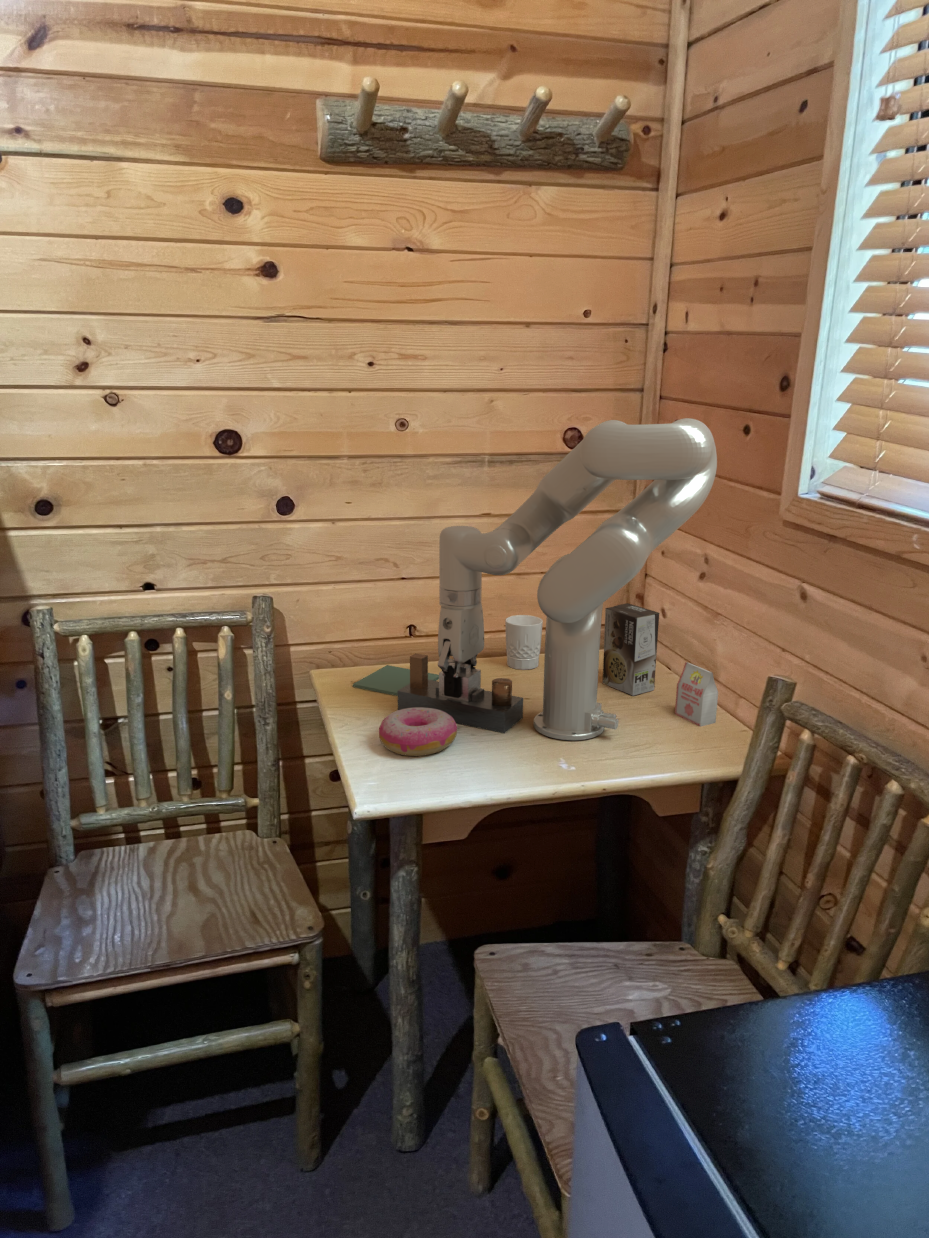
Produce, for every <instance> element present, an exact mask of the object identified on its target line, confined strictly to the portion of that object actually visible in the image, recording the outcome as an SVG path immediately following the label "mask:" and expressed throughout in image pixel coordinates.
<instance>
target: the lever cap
mask: <svg viewBox="0 0 929 1238" xmlns="http://www.w3.org/2000/svg"><path fill="white" fill-rule="evenodd" d="M449 665H450V666H452V667H453V668H454V667H455V663H449ZM470 667H471V665H468V664H462V663H461V664H460V671H459V677H461V697H459V698H454V697H449V696H445V695H444V676H443V672H442V670H441V671H439V672H438V675H439V679H438V681H439V696H443V697H448V698H453V699H458V700H463V701H469V700H471V699H472V694H473V693H475V692H476V691H478V690H479V689H480V688H481V687H482V686H481V680H482V679H481V677H482V675H481V674H482V672H481V671H482V670H481V669H479V668H475V669H474V668H470Z"/></svg>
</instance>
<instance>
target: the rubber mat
mask: <svg viewBox="0 0 929 1238" xmlns="http://www.w3.org/2000/svg"><path fill="white" fill-rule="evenodd" d="M428 680H434V681H439V673H438V674H437V673H433V672H428ZM408 684H410V668H405V667H401V666H400V667H399V666H394V665H389V664H387V665H385V666H383V667H381V668H380V669H378V670H375V671H374V672H372V673H370V674H368V675H366V676H364V677H362V678H361V679H359V680H358V681H356V682H353V683H352V687H353V688H357V689H362V690H367V691H372V692H377V693H381V694H384V695H385V694H386V695H390V696H395V697H398V693H397V691H398V690H400V689H401V688H403V687H405V686H406V685H408Z"/></svg>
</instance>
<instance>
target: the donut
mask: <svg viewBox="0 0 929 1238" xmlns="http://www.w3.org/2000/svg"><path fill="white" fill-rule="evenodd" d="M457 733H458V725H457V723H456V722H455V720H454V719H453V718H452V716H450V715H449V714H447V713H446V712H444V711H441V710H438V709H433V708H423V707H415V708H406V709H401V710H398V709H397V710H396V711H393V712H391V713H390V714H388V715H387V716H385V717H384V718H383V719H382V721H381V723H380V725H379V728H378V734H379V735H378V736H379V737H378V738H379V740H380V742H381V744H382V745H383V747H385V748H386V749H388V750H389V751H390V752H393V753H394V754H398V755H400V756H401V755H402V756H405V757H407V756H408V757H423V756H428V755H433V754H437V753H439V752H442V751H443V750H445V749H446V748H448V747H450V745H452V743H453V742H454V740H455V738H456V737H457Z"/></svg>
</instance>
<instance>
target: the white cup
mask: <svg viewBox="0 0 929 1238" xmlns="http://www.w3.org/2000/svg"><path fill="white" fill-rule="evenodd" d="M543 623H544V620H543V619H542V618H541V617H538V616H535V615H528V614H527V615H526V614H518V615H517V614H516V615H511V616H508V617H506V618H505V647H506V649H505V650H506V665H507V666H508V667H509V668H512V669H513V670H514V669H515V670H520V671H524V670H525V671H526V670H533V669H535V668H538V667H539V662H540V660H539V659H540V655H541V646H542V634H543Z"/></svg>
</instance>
